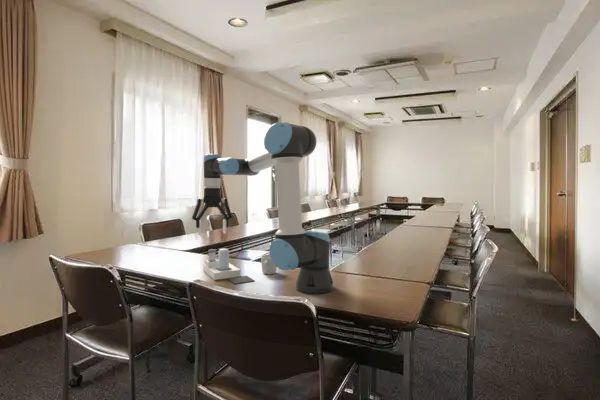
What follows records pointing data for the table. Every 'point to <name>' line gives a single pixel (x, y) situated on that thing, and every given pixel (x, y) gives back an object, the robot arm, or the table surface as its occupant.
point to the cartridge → (223, 259)
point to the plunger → (212, 255)
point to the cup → (268, 265)
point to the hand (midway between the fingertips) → (212, 234)
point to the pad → (240, 279)
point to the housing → (213, 272)
